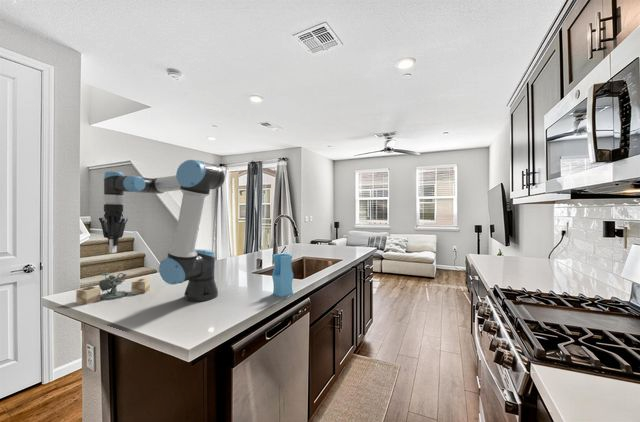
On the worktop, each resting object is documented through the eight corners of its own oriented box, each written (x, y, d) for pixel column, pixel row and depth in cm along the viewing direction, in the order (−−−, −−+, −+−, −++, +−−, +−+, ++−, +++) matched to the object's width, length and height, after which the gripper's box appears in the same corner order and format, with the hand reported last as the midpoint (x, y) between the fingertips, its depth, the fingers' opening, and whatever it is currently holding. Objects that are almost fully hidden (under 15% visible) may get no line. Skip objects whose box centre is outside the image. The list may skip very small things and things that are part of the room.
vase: (271, 293, 141) (272, 254, 140) (284, 290, 146) (284, 253, 146) (280, 297, 135) (280, 256, 134) (293, 294, 140) (293, 255, 140)
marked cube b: (100, 300, 127) (100, 286, 127) (86, 304, 121) (86, 290, 121) (90, 299, 128) (90, 285, 128) (76, 303, 123) (76, 289, 122)
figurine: (115, 300, 127) (116, 274, 127) (93, 299, 127) (93, 274, 127) (131, 293, 138) (132, 269, 138) (110, 292, 138) (110, 269, 138)
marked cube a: (149, 290, 143) (149, 278, 143) (144, 293, 138) (144, 281, 138) (136, 290, 142) (137, 278, 142) (131, 294, 136) (131, 281, 136)
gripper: (132, 204, 135) (131, 251, 136) (107, 203, 136) (106, 250, 136) (120, 204, 128) (119, 254, 128) (94, 203, 129) (93, 253, 129)
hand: (112, 252), depth 132 cm, fingers closed
